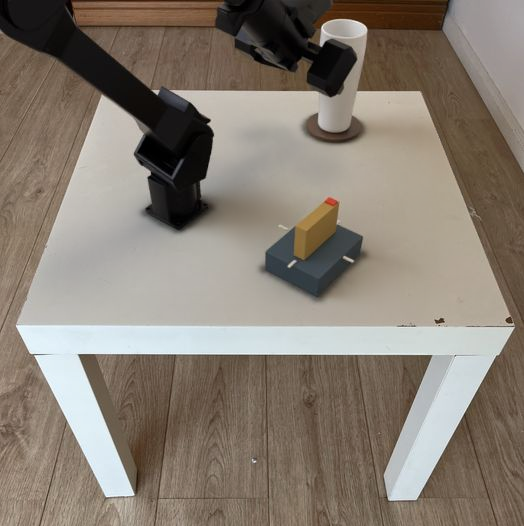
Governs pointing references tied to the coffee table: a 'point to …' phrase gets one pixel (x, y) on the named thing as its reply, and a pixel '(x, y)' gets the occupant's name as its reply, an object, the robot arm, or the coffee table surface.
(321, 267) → the base
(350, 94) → the drinking glass
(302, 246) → the tap handle
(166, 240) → the coffee table surface
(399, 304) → the coffee table surface
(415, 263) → the coffee table surface
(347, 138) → the coaster
